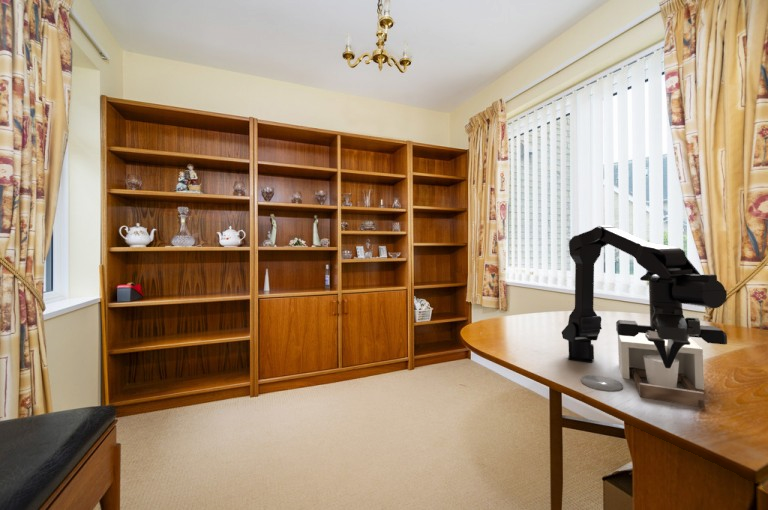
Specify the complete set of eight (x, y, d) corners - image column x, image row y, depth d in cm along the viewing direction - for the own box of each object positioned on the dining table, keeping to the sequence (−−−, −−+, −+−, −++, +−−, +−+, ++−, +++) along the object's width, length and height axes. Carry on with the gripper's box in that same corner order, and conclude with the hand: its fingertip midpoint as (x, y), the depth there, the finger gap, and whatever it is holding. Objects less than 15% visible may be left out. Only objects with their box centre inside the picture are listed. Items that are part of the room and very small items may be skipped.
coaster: (580, 387, 82) (580, 384, 82) (581, 375, 89) (581, 373, 89) (624, 394, 77) (624, 391, 77) (621, 381, 85) (621, 378, 85)
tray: (640, 396, 75) (640, 384, 75) (632, 374, 89) (631, 363, 89) (704, 407, 69) (704, 393, 69) (685, 381, 83) (685, 370, 83)
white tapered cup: (672, 393, 77) (671, 364, 77) (639, 383, 83) (638, 356, 83) (685, 386, 80) (684, 358, 80) (652, 377, 86) (651, 352, 86)
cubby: (622, 378, 86) (621, 341, 86) (618, 364, 97) (617, 331, 97) (704, 389, 78) (702, 349, 78) (690, 373, 88) (689, 337, 88)
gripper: (618, 304, 73) (621, 372, 73) (736, 309, 63) (738, 388, 63) (615, 297, 82) (617, 358, 82) (716, 301, 72) (719, 370, 72)
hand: (667, 367), depth 74 cm, fingers closed
